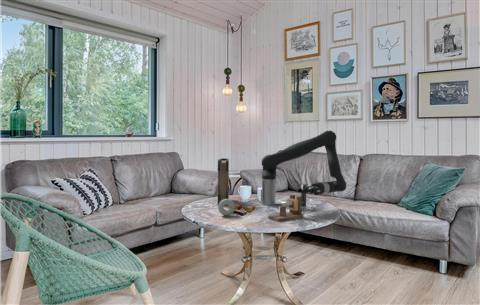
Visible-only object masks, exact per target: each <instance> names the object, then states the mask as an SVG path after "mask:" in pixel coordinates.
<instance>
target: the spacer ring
mask: <svg viewBox="0 0 480 305" xmlns="http://www.w3.org/2000/svg"><path fill="white" fill-rule="evenodd" d="M289 201H293V202H294V208H293V207H291V205H290V206H286V210H289V211H290V210H294V211H298V200H296V198H295V199H291V198H290V197H288V198H286V202H289Z"/></svg>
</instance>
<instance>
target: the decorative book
mask: <svg viewBox="0 0 480 305" xmlns="http://www.w3.org/2000/svg"><path fill="white" fill-rule="evenodd" d="M229 160H230V158H219V159H217V206H218V205H219V203H220V202H221V201H222V200H223V199H230V197H229V196H230V195H229V193H230V192H229V189H230V186H229V184H230V182H229V181H230V180H229V178H230V171H229V170H230V166H229V165H230V161H229ZM225 206H226V207H229V205H225Z"/></svg>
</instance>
